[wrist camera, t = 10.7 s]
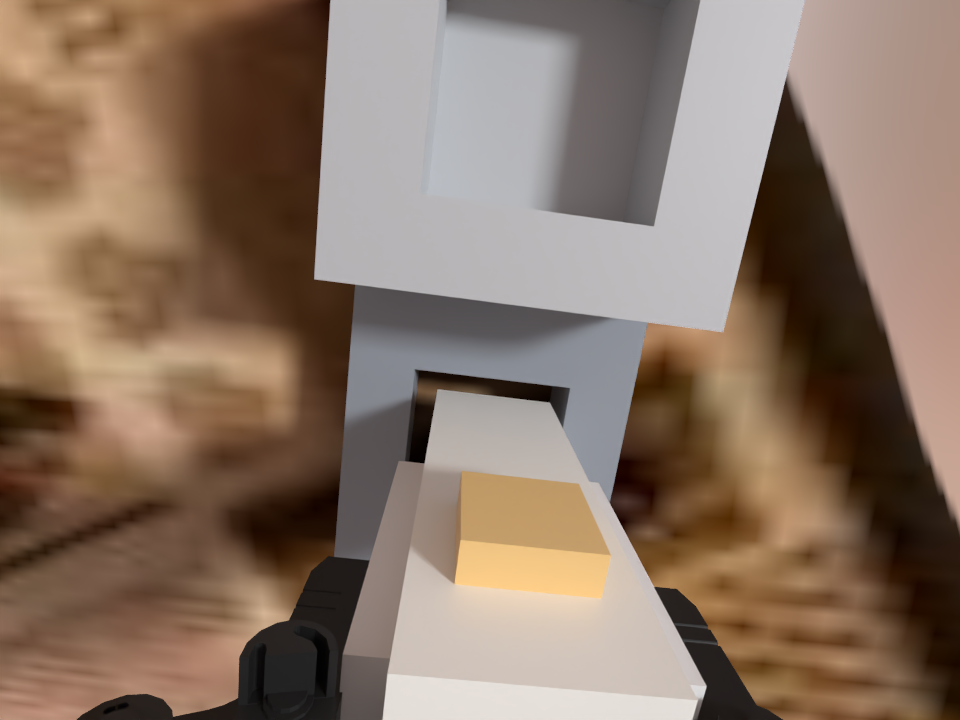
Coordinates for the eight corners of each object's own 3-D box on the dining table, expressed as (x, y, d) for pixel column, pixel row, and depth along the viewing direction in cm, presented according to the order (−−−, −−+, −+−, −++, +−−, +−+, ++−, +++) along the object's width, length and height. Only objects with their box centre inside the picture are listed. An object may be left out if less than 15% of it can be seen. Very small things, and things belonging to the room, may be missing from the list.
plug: (425, 492, 19) (362, 903, 7) (440, 367, 18) (393, 618, 6) (532, 503, 19) (635, 920, 8) (553, 381, 18) (712, 649, 6)
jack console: (350, 516, 22) (291, 666, 15) (396, -35, 18) (344, -247, 10) (576, 539, 23) (633, 694, 15) (680, 13, 18) (842, -151, 10)
